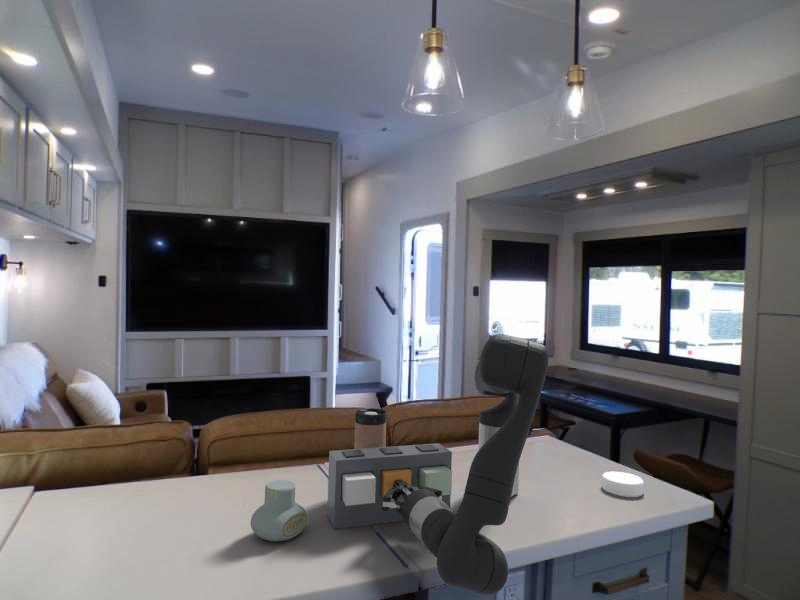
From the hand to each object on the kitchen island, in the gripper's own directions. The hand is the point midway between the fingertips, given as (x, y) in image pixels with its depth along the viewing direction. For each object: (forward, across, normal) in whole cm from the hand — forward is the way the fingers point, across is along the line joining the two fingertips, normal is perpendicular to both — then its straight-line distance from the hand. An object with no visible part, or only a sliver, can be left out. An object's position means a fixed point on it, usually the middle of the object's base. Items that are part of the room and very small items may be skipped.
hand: (397, 484), depth 108 cm
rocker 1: (+1, +8, +3) cm, 9 cm away
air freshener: (+2, +24, +9) cm, 26 cm away
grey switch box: (+5, 0, +8) cm, 10 cm away
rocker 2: (+1, -9, +3) cm, 9 cm away
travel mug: (+18, +1, +9) cm, 20 cm away
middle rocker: (+4, 0, +3) cm, 4 cm away
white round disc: (+4, -63, +9) cm, 64 cm away
